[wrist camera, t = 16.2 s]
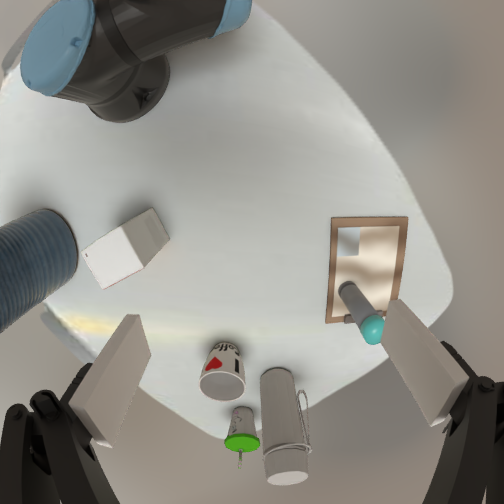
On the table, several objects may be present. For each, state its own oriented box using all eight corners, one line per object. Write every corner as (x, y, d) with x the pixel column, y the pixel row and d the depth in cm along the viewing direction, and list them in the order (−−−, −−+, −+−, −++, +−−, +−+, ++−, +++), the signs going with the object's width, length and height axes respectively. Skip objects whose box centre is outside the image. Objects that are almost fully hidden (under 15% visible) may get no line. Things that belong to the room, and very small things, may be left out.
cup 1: (248, 339, 51) (248, 374, 41) (243, 369, 53) (242, 404, 44) (207, 333, 50) (199, 368, 41) (204, 363, 53) (197, 398, 44)
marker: (338, 281, 46) (367, 324, 33) (357, 279, 46) (391, 320, 33) (336, 300, 48) (362, 346, 34) (355, 298, 47) (386, 342, 34)
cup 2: (240, 398, 57) (238, 450, 42) (265, 410, 58) (268, 460, 44) (220, 412, 58) (215, 461, 44) (245, 423, 60) (244, 471, 46)
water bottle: (261, 391, 56) (266, 488, 32) (257, 367, 53) (261, 472, 30) (302, 386, 56) (320, 480, 32) (301, 361, 53) (324, 463, 29)
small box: (135, 259, 46) (102, 291, 33) (117, 228, 44) (78, 251, 31) (171, 239, 45) (144, 268, 32) (153, 206, 43) (119, 224, 30)
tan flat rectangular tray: (331, 217, 44) (333, 219, 42) (406, 216, 43) (411, 218, 42) (325, 321, 50) (327, 326, 48) (393, 313, 50) (396, 317, 48)
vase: (44, 290, 48) (-44, 370, 18) (18, 223, 43) (-87, 277, 13) (91, 273, 46) (-15, 374, 17) (62, 195, 41) (-73, 246, 12)
